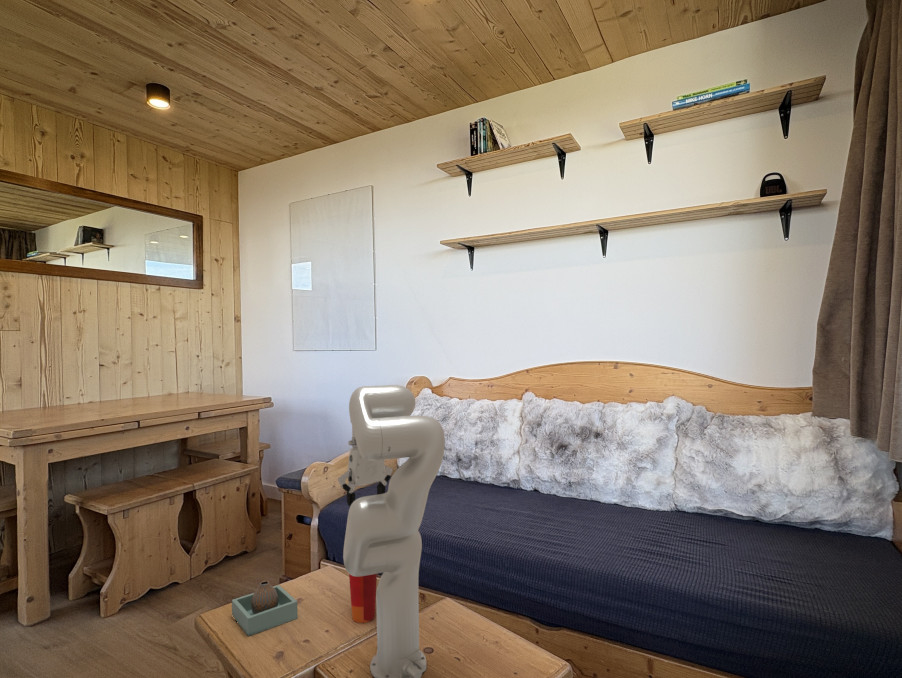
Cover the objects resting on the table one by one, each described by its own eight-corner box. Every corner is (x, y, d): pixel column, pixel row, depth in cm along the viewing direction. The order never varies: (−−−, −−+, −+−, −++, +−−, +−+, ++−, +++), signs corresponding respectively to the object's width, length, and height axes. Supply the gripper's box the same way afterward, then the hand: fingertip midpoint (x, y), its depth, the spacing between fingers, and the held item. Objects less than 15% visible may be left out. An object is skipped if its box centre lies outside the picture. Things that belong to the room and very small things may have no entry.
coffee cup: (378, 608, 141) (377, 553, 141) (379, 623, 133) (378, 566, 133) (348, 611, 139) (347, 556, 140) (347, 627, 131) (346, 569, 132)
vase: (272, 622, 133) (272, 588, 133) (246, 622, 134) (246, 588, 134) (282, 608, 140) (281, 576, 140) (257, 608, 140) (257, 576, 141)
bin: (297, 618, 136) (297, 601, 136) (248, 636, 128) (247, 618, 128) (278, 600, 146) (278, 584, 146) (231, 616, 138) (231, 599, 138)
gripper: (344, 448, 136) (345, 512, 136) (398, 440, 148) (399, 499, 147) (331, 444, 142) (332, 506, 142) (384, 437, 153) (385, 493, 153)
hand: (366, 502), depth 144 cm, fingers open, 9 cm apart
